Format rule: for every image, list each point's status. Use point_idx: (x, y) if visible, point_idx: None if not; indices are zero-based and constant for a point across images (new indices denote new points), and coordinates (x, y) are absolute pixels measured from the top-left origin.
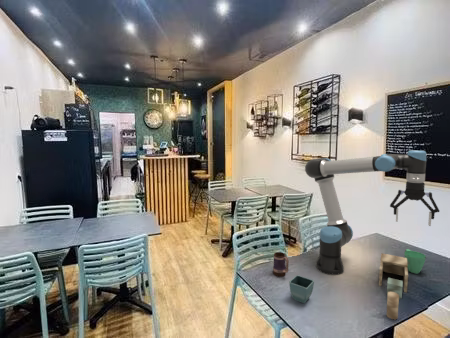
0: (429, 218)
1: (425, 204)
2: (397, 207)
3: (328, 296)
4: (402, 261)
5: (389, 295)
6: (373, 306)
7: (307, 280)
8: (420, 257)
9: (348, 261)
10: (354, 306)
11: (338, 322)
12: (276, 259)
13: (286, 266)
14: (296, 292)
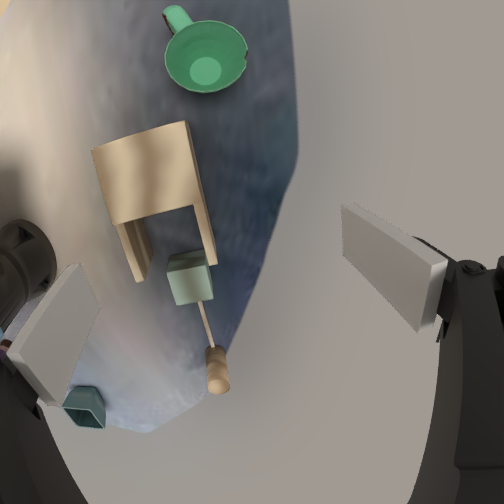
0: (381, 293)
1: (436, 442)
2: (46, 424)
3: (105, 365)
4: (177, 174)
5: (214, 393)
6: (177, 345)
7: (80, 407)
8: (224, 33)
9: (29, 168)
10: (153, 365)
11: (161, 404)
12: None
13: None
14: (90, 416)
